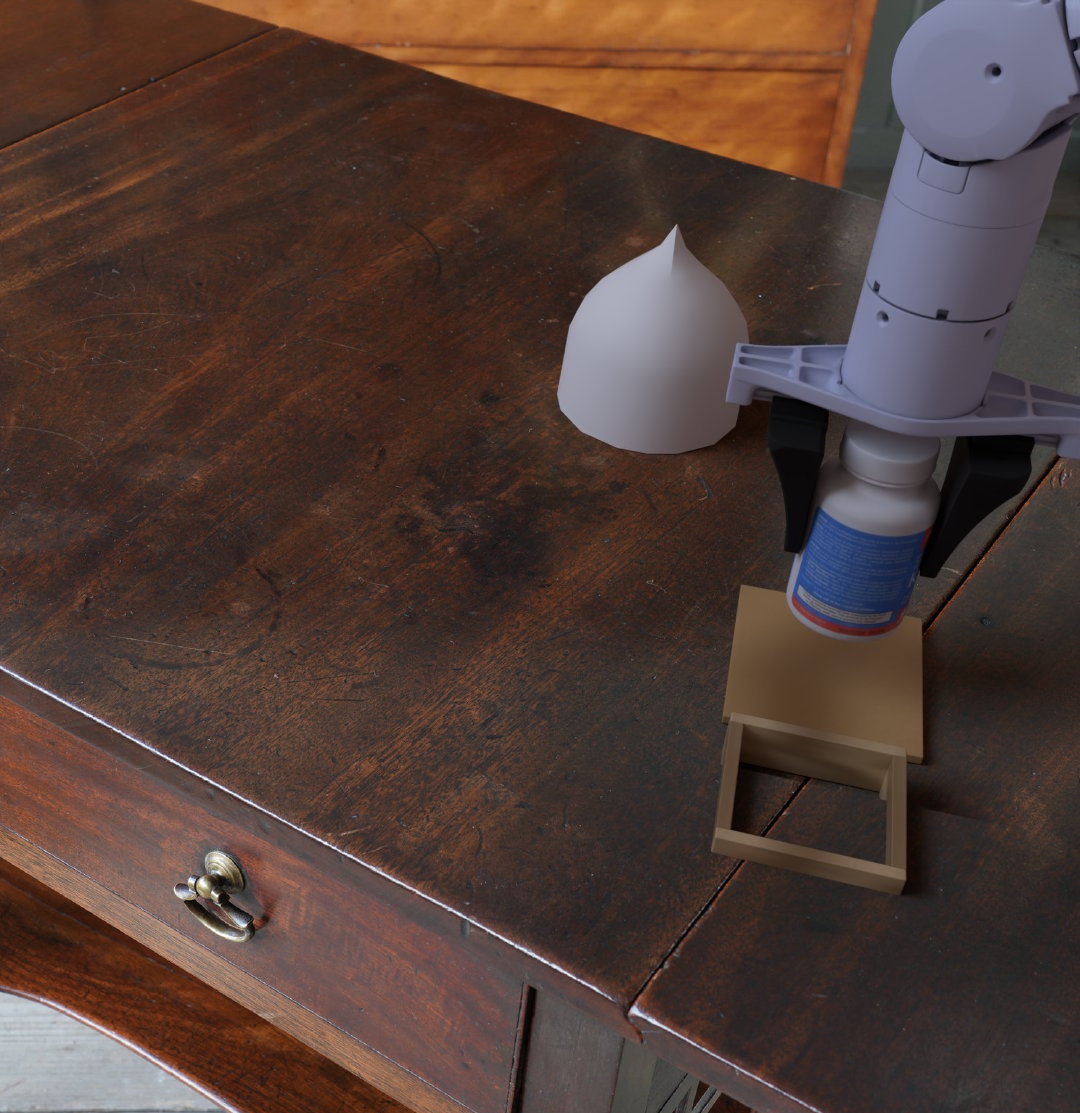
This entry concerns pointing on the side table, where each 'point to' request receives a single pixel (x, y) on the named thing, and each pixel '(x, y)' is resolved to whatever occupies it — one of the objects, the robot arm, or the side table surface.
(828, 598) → the pill bottle
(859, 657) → the pad
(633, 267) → the teardrop
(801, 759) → the frame
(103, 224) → the side table surface
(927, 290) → the robot arm
